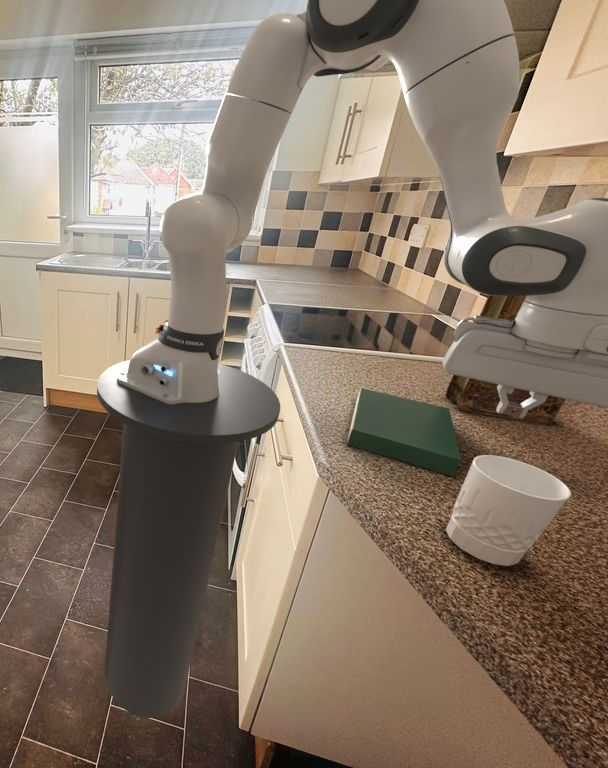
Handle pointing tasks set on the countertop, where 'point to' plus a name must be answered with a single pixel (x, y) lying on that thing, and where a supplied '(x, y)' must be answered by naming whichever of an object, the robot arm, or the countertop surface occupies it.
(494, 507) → the white cup
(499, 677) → the countertop surface
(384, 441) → the hardback
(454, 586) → the countertop surface
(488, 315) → the book
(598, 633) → the countertop surface
